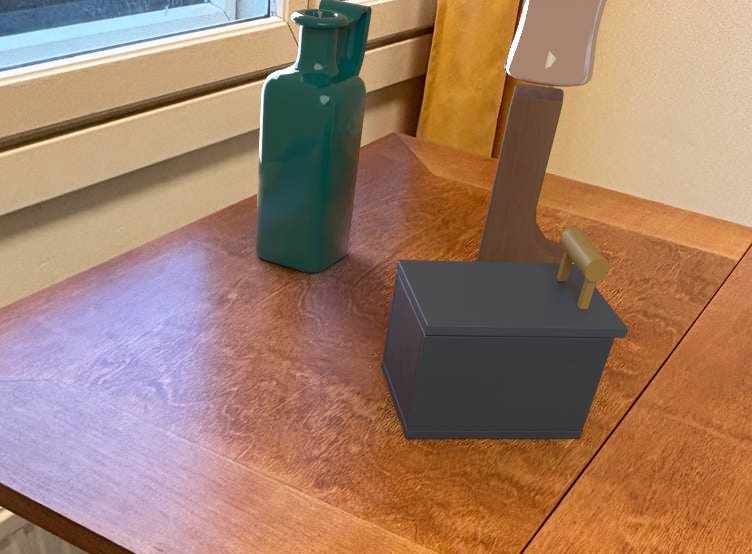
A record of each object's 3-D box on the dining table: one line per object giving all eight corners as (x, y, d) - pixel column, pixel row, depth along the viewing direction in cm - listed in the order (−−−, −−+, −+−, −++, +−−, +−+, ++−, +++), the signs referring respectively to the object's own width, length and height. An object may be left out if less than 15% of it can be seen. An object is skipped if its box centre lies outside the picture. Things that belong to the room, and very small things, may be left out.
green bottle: (316, 278, 92) (339, 25, 76) (247, 257, 95) (256, 8, 79) (359, 248, 98) (389, 8, 83) (294, 229, 101) (311, -7, 85)
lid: (575, 272, 75) (593, 213, 72) (625, 338, 67) (648, 275, 64) (396, 268, 73) (405, 208, 70) (425, 335, 65) (437, 270, 62)
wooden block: (559, 289, 94) (615, 94, 81) (557, 307, 90) (615, 107, 78) (473, 275, 95) (515, 81, 82) (469, 292, 92) (512, 94, 79)
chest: (537, 368, 81) (565, 272, 75) (579, 439, 73) (615, 338, 67) (380, 367, 80) (396, 269, 73) (405, 439, 72) (425, 336, 65)
